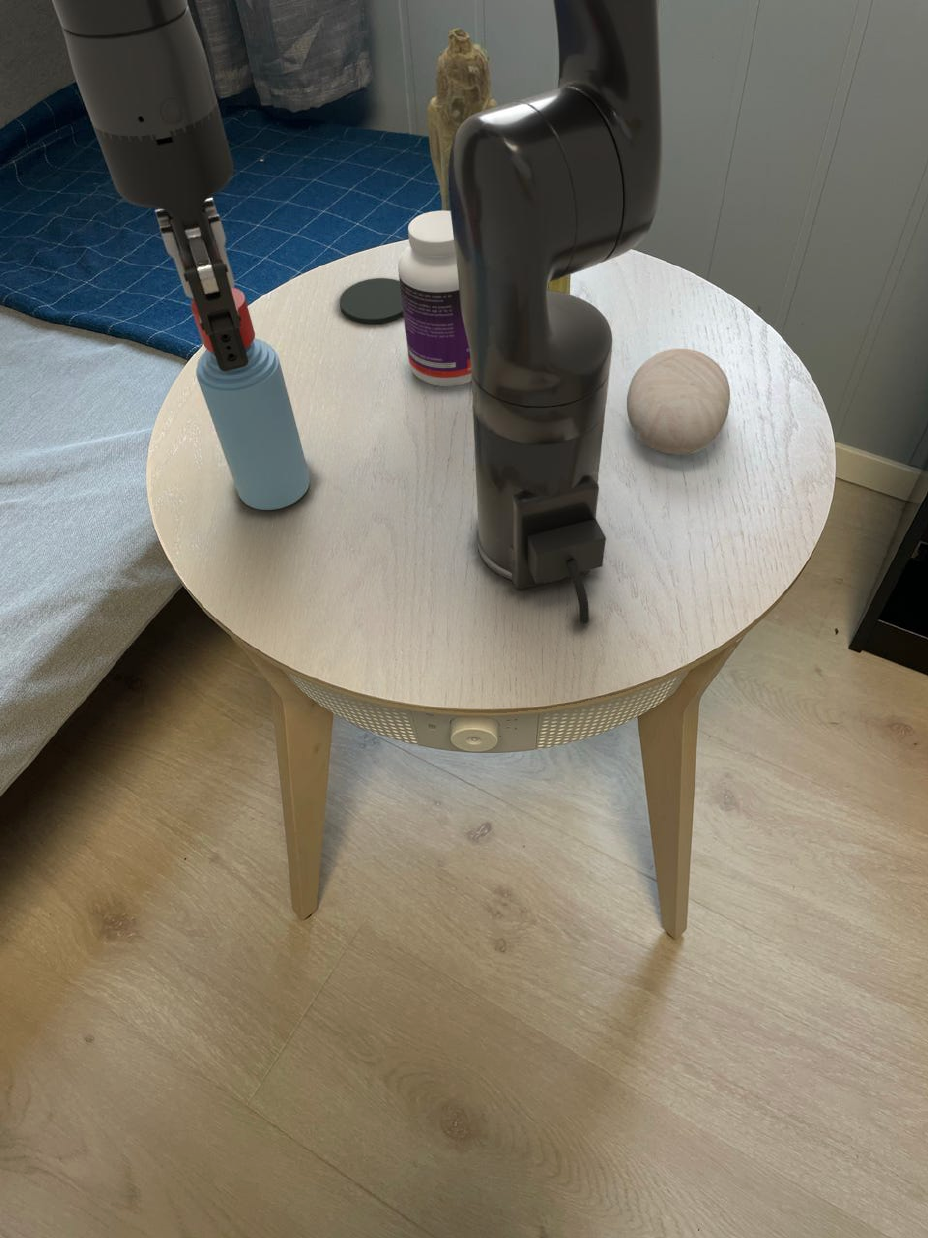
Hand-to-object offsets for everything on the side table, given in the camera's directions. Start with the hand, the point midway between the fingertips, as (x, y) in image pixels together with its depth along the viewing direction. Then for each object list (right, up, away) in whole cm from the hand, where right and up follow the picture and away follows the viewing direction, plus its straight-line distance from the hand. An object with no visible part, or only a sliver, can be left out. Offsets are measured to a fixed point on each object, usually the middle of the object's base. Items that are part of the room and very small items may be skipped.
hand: (229, 349), depth 64 cm
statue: (+19, +16, +29) cm, 38 cm away
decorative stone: (+37, -2, +14) cm, 40 cm away
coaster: (+8, +14, +28) cm, 33 cm away
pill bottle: (+16, +5, +21) cm, 27 cm away
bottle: (+1, -8, +11) cm, 14 cm away
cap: (0, +1, -1) cm, 1 cm away
